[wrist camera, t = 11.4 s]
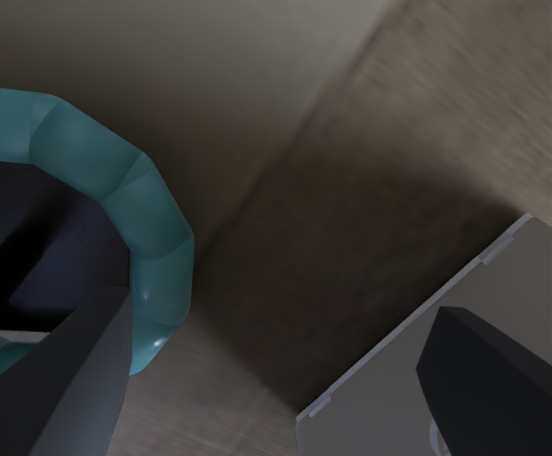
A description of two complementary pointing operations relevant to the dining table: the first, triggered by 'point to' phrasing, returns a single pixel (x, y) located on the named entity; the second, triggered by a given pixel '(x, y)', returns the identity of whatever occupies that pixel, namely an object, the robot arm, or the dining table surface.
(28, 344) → the teal segmented ring
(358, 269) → the dining table surface
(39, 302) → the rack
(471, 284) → the laptop
